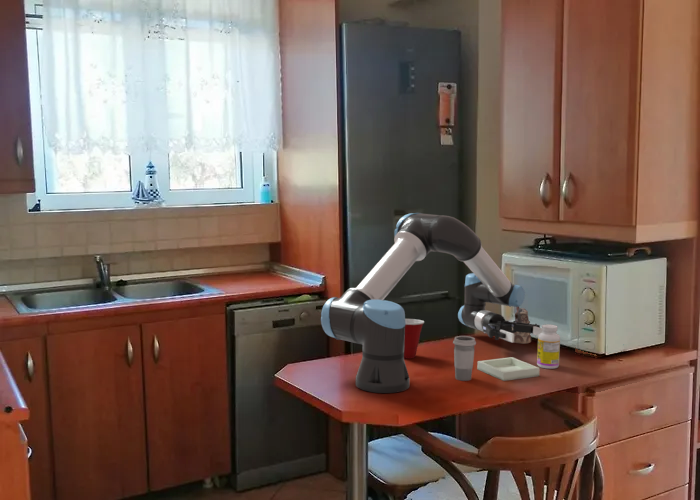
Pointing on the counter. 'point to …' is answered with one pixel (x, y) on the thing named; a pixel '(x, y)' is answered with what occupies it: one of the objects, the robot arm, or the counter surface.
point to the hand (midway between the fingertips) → (530, 336)
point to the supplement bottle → (548, 347)
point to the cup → (463, 357)
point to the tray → (508, 368)
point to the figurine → (522, 317)
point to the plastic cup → (412, 337)
